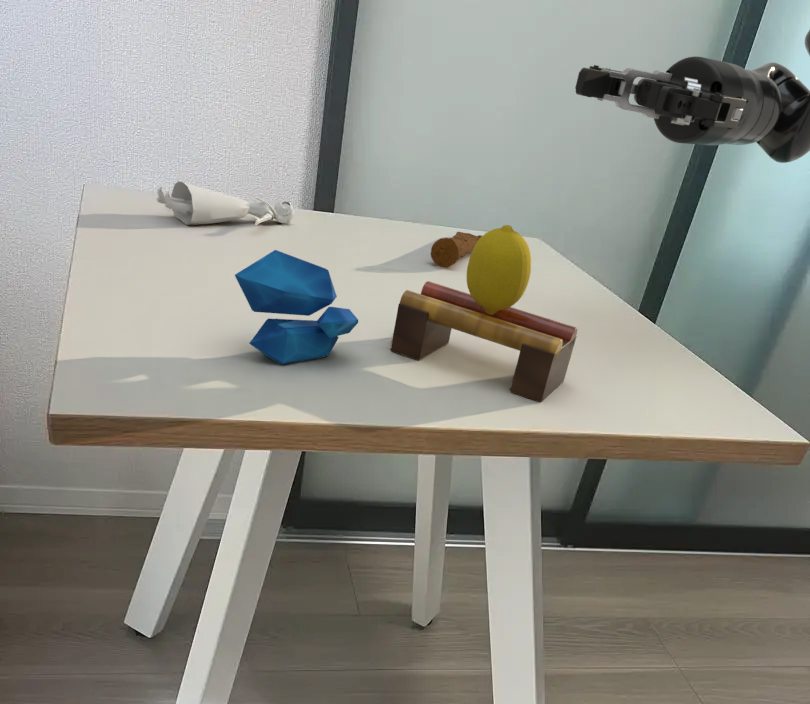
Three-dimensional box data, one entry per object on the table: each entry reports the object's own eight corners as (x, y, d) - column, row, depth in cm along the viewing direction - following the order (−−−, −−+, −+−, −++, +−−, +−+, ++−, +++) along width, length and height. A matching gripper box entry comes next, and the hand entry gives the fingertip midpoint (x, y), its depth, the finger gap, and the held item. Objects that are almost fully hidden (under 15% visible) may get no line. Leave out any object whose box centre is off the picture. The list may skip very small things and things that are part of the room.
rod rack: (563, 381, 84) (580, 325, 81) (541, 402, 78) (557, 343, 75) (421, 333, 88) (432, 278, 85) (390, 350, 83) (400, 292, 80)
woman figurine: (143, 167, 108) (273, 184, 119) (140, 205, 110) (268, 218, 121) (184, 193, 100) (319, 208, 111) (180, 233, 102) (312, 244, 113)
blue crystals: (388, 286, 76) (279, 260, 67) (355, 381, 79) (247, 369, 70) (333, 259, 80) (224, 231, 71) (305, 350, 83) (197, 335, 74)
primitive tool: (457, 235, 127) (462, 210, 125) (494, 245, 126) (500, 219, 125) (426, 264, 111) (431, 236, 109) (468, 275, 110) (475, 246, 108)
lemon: (475, 328, 78) (492, 236, 73) (450, 302, 82) (465, 213, 77) (530, 326, 80) (551, 237, 75) (504, 301, 84) (522, 214, 79)
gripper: (660, 48, 91) (566, 29, 80) (789, 75, 83) (705, 57, 72) (637, 128, 95) (545, 119, 84) (759, 160, 87) (675, 156, 76)
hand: (619, 90), depth 78 cm, fingers open, 8 cm apart
